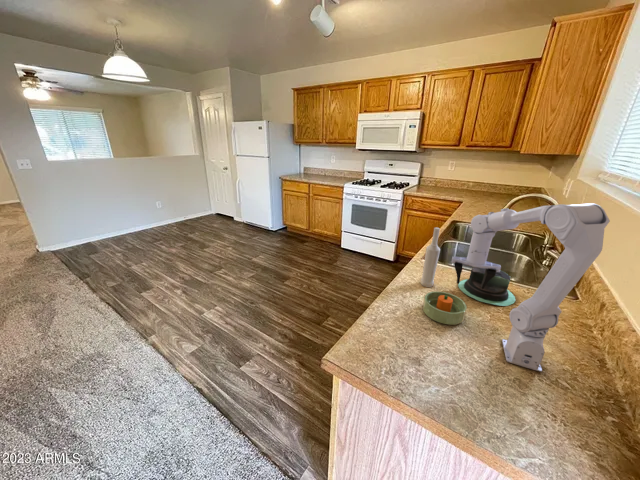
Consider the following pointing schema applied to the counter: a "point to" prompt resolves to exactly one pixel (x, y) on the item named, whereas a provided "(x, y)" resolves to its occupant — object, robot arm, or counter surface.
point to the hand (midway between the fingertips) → (469, 284)
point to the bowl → (441, 316)
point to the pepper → (444, 303)
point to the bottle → (431, 261)
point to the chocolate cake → (488, 288)
